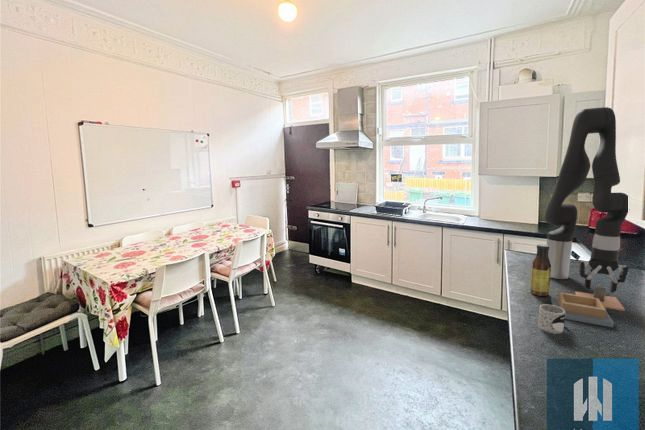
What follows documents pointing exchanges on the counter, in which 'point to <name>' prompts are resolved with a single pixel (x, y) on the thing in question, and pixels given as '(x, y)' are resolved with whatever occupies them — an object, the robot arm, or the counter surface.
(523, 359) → the counter surface
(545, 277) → the sauce bottle
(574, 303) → the socket stand
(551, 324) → the mug
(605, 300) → the lid
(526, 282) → the counter surface
